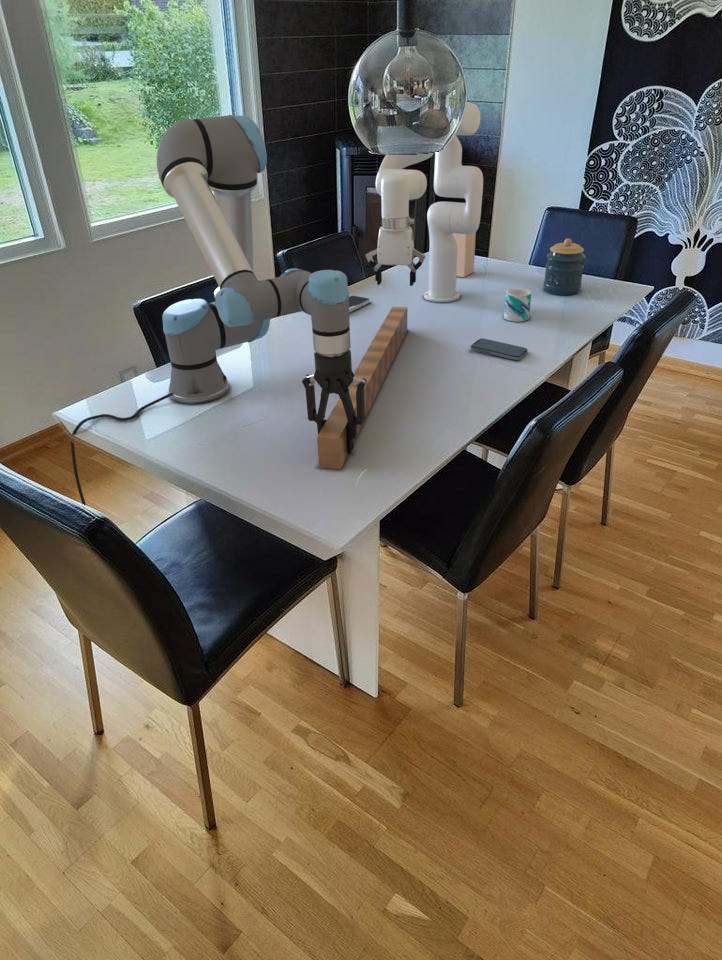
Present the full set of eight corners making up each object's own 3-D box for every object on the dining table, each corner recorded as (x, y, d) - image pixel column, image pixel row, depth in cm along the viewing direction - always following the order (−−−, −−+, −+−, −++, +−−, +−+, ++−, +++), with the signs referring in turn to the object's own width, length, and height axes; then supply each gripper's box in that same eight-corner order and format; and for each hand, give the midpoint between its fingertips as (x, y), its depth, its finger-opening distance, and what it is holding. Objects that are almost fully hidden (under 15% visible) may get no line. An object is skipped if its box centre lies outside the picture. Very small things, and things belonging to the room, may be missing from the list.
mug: (499, 319, 216) (501, 293, 211) (513, 308, 224) (516, 283, 220) (524, 323, 212) (526, 296, 207) (537, 311, 220) (540, 286, 216)
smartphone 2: (518, 357, 186) (469, 345, 193) (518, 362, 187) (469, 351, 194) (528, 347, 191) (480, 337, 198) (528, 353, 192) (480, 342, 199)
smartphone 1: (370, 298, 234) (345, 310, 224) (370, 302, 235) (345, 314, 224) (352, 295, 238) (327, 307, 227) (352, 299, 238) (327, 311, 228)
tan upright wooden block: (464, 277, 255) (467, 216, 243) (444, 274, 259) (446, 214, 248) (478, 268, 264) (481, 209, 252) (458, 266, 268) (461, 208, 256)
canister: (554, 297, 232) (561, 245, 222) (536, 286, 243) (541, 236, 233) (587, 292, 235) (595, 240, 225) (568, 282, 245) (574, 232, 236)
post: (340, 469, 143) (338, 438, 138) (319, 467, 144) (316, 436, 139) (407, 330, 211) (407, 307, 207) (392, 329, 212) (392, 306, 208)
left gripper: (379, 345, 137) (381, 444, 150) (296, 341, 141) (304, 437, 154) (371, 359, 131) (374, 461, 144) (284, 354, 135) (294, 454, 147)
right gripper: (427, 220, 188) (426, 281, 197) (367, 219, 192) (369, 279, 201) (423, 226, 182) (422, 289, 191) (362, 225, 186) (363, 287, 195)
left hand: (338, 449), depth 149 cm, fingers closed on post, 5 cm apart
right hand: (395, 284), depth 196 cm, fingers open, 9 cm apart
